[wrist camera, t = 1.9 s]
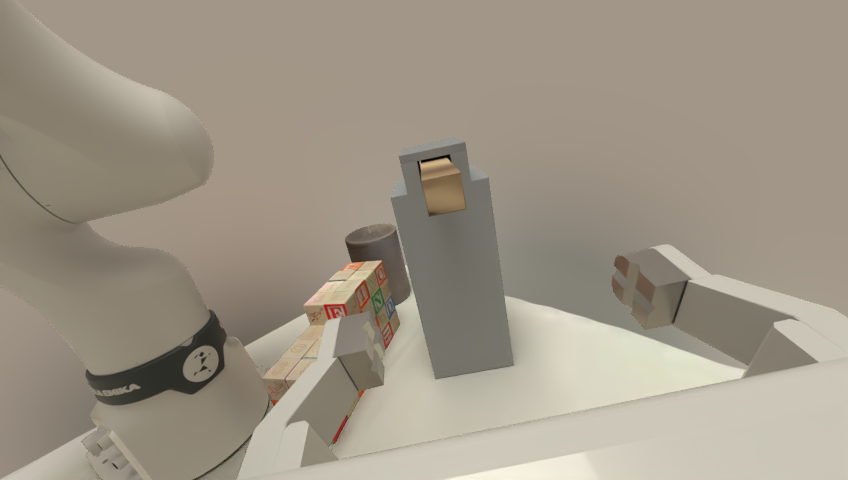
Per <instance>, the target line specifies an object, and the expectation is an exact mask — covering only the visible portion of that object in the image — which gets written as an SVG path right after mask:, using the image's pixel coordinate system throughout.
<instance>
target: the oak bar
mask: <svg viewBox="0 0 848 480" xmlns="http://www.w3.org/2000/svg"><path fill="white" fill-rule="evenodd" d="M421 181H422V186H423V191H424V196H425V201H426V205H427V210H428V215H429V217H431V216H436V215H441V214H445V213H450V212H455V211H460V210H465V209H467V208H466V202H465V196H464V190H463V184H462V178H461V172H460V171H459V170H458V169H457V168H456V166H455V165H454V164H452V163H451V162H450V161H449V159H448V158H447V157H446V156H445V155H443V156H439V157H434V158H429V159H425V160H421Z"/></svg>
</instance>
